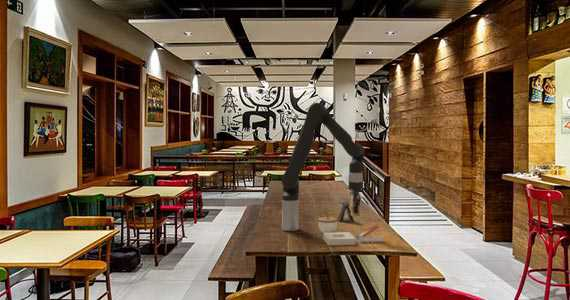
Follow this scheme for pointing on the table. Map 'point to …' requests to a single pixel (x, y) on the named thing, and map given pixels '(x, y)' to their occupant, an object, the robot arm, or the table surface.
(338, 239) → the socket block
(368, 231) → the latch lever
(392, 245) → the table surface
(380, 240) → the lever bracket
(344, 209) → the phone stand
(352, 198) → the peg
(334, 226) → the lidded jar
